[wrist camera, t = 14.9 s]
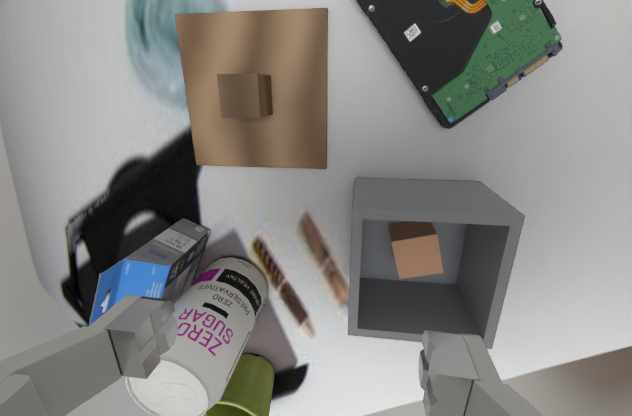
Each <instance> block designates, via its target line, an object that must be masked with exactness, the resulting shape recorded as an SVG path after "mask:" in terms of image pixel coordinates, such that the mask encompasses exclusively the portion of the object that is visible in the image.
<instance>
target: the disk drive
mask: <svg viewBox="0 0 632 416" xmlns="http://www.w3.org/2000/svg"><path fill="white" fill-rule="evenodd" d="M357 2H358V4H359V5H360V7H361V8H362V10H363V11H364V13H365V14H366V15H367V16H368V17H369V18H370V20H371V21H372V23H373V25H374V26H375V27H376V29H377V30H378V32H379V33H380V35H381V36H382V38H383V39H384V41H385V42H386V43H387V45H388V47H389V48H390V49H391V51H392V52H393V54H394V56H395V57H396V58H397V60H398V61H399V63H400V65H401V66H402V68H403V69H404V70H405V72H406V73H407V75H408V76H409V78H410V79H411V81H412V82H413V84H414V85H415V87H416V88H417V90H418V91H419V93H420V94H421V96H422V97H423V99H424V101H425V103H426V105H427V106H428V107H429V109H430V110H431V111H432V112H433V114H434V115H435V117H436V118H437V120H438V122H439V123H440V124H441V126H443V127H445V128H448V129H450V128H452V127H454V126H455V125H456V124H458V123H459V122H461V121H462V120H464V119H465V118H467V117H468V116H469V115H471V114H472V113H474V112H475V111H477V110H478V109H480V108H481V107H483V106H484V105H485V104H487V103H488V102H489V100H493V99H495V98H496V97H498V96H499V95H500V94H502V93H503V92H505V91H506V90H507V89H506V88H508V87H510V86H512V85H514V84H515V83H516V82H518V81H519V80H521V78H522V77H523V76H524V77H525V76H526V75H528V74H529V73H530V72H532V71H533V70H535V69H536V68H537V67H539V66H540V65H542V64H543V63H545V62H546V61H548V59H549V58H551V57H552V56H556V55H557V54H558V52H560V51H561V49H562V47H563V46H562V44H561V42H560V40H561V36H560V34H559V33H558V31H557V29H556V28H555V25H556V22H555V20H554V18H553V16H552V14H551V13H550V11H549V10H548V8H547V7H546V5H545V3H544V2H543V0H357Z"/></svg>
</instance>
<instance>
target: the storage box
mask: <svg viewBox="0 0 632 416" xmlns="http://www.w3.org/2000/svg"><path fill="white" fill-rule="evenodd" d="M524 217H525V216H524V215H523V214H522V213H520V212H519V211H518V210H516V209H515V208H514V207H513V206H511V205H510V204H509V203H507V202H506V201H505V200H504V199H502V198H501V197H500V196H498V195H497V194H496V193H494V192H493V191H492V190H491V189H489V188H488V187H487V186H485V185H484V184H483V183H482V182H480V181H456V180H421V179H386V178H355V185H354V196H353V207H352V231H351V259H350V288H349V316H348V335H354V336H364V337H374V338H385V339H395V340H405V341H416V342H422V338H423V333H424V331H425V330H431V331H440V332H449V333H458V334H461V333H462V334H472V335H479V336H480V337H481V338H482V340H483V342H484V344H485V346H486V348H488V349H492V346H493V342H494V338H495V334H496V330H497V326H498V322H499V318H500V314H501V310H502V306H503V302H504V298H505V294H506V290H507V286H508V282H509V278H510V274H511V270H512V266H513V262H514V258H515V254H516V249H517V245H518V241H519V237H520V233H521V229H522V225H523V221H524ZM404 221H416V222H431V223H432V225H433V227H434V229H435V231H436V233H437V236H438V242H439V248H440V254H441V261H442V267H443V273H438V274H431V275H424V276H418V277H411V278H404V279H399V275H398V271H397V266H396V261H395V257H394V252H393V247H392V243H391V237H390V232H389V227H388V224H393V223H398V222H404Z"/></svg>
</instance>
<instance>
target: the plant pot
mask: <svg viewBox="0 0 632 416" xmlns="http://www.w3.org/2000/svg"><path fill="white" fill-rule="evenodd" d="M273 383H274V369H273V367H272V365H271V364H270V363H269V362H268V361H267V360H266V359H265V358H263V357H261V356H253V355H251V354H243V355H241V356H240V358H239V360H238V363H237V365H236V367H235V369H234V371H233V373H232V376H231V378H230V380H229V382H228V384H227V386H226V389H225V391H224V393H223V395H222V397H221V399H220V400H219V401H218V402H217V403H216V404H215V405H214V406H213V407H211V408H210V409H209V410H207V411H206V413H205V414H204V415H203V416H269V410H270V403H271V396H272V389H273Z"/></svg>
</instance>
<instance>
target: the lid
mask: <svg viewBox="0 0 632 416" xmlns="http://www.w3.org/2000/svg"><path fill="white" fill-rule="evenodd" d="M175 19H176V26H177V33H178V40H179V47H180V54H181V61H182V68H183V75H184V82H185V89H186V95H187V102H188V109H189V116H190V123H191V130H192V137H193V144H194V151H195V158H196V165H211V166H246V167H281V168H315V169H326V168H327V30H328V9H327V8H313V9H290V10H266V11H242V12H218V13H194V14H175Z"/></svg>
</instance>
